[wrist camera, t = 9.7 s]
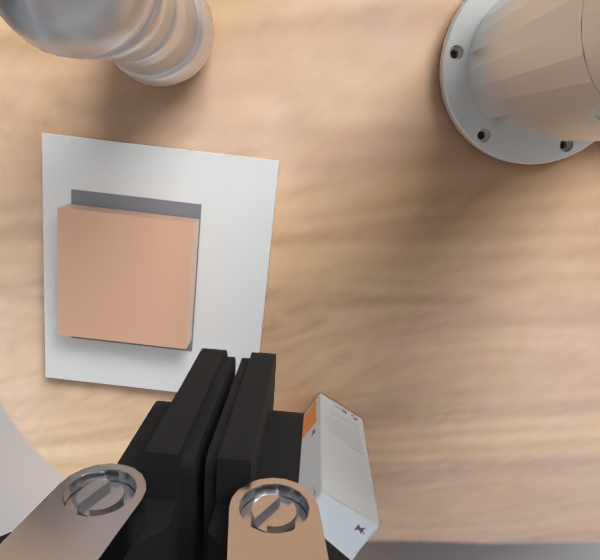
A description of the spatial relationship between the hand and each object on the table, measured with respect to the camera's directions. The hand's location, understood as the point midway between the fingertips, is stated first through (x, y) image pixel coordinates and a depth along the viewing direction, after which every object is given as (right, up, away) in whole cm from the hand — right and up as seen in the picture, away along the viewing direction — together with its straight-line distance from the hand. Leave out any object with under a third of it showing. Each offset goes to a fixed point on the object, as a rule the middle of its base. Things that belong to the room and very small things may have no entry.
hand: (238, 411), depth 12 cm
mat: (-9, +3, +27) cm, 28 cm away
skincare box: (+3, -9, +30) cm, 32 cm away
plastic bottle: (-7, +19, +23) cm, 30 cm away
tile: (-6, +3, +25) cm, 26 cm away
